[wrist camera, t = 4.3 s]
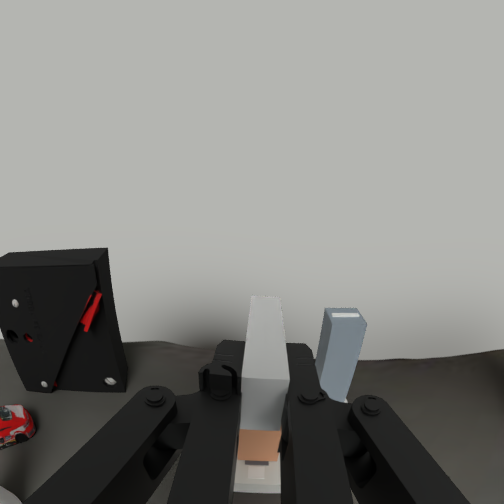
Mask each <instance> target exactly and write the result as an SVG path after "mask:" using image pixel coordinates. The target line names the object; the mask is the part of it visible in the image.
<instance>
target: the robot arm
mask: <svg viewBox="0 0 504 504" xmlns="http://www.w3.org/2000/svg"><path fill="white" fill-rule="evenodd" d="M313 358H314V357H313V354H312V350H311V349H310V348H309V347H308V346H307V345H306V344H303V343H302V344H301V343H300V344H299V343H286V341H285V333H284V324H283V316H282V308H281V299H280V297H268V296H251V303H250V313H249V320H248V328H247V337H246V342H244V341H232V340H223V341H222V342H221V343H220V344H219V345H217V348H216V351H215V355H214V358H213V362H212V363H210V364H207V365H205V366H204V367H202V368H201V369H200V371H199V372H198V373H199V387H200V391H198V392H196V393H194V394H189V395H180V396H175V395H174V393H173V392H172V391H171V390H169V389H168V388H166V387H162V386H149V387H145V388H143V389H142V390H140V391H139V392H138V393H137V394H136V395H135V396H134V397H133V398H132V399H131V400H130V401H129V402H128V403H127V404H126V405H125V406H124V407H123V408H122V409H121V410H120V411H119V412H118V413H117V414H116V415H114V416H113V417H112V418H111V419H110V420H109V421H108V422H107V423H106V424H105V425H104V426H103V427H102V428H101V429H100V430H99V431H98V432H97V433H96V434H95V435H94V436H93V437H92V438H91V439H90V440H89V441H88V442H87V443H86V444H85V445H84V446H83V447H82V448H81V449H80V450H79V451H78V452H77V453H76V454H74V455H73V456H72V457H71V458H70V459H69V460H68V461H67V462H66V463H65V464H64V465H63V466H62V467H61V468H60V469H59V470H58V471H57V472H56V473H54V474H53V475H52V476H51V477H50V478H49V479H48V480H47V481H46V482H45V483H44V484H43V485H42V486H41V487H39V488H38V489H37V490H36V491H35V492H34V493H33V494H32V495H31V496H30V497H29V498H28V499H26V500H25V501H24V502H23V503H22V504H146V502H147V501H148V500H149V498H150V497H151V495H152V494H153V493H154V491H155V490H156V488H157V487H158V486H159V484H160V483H161V481H162V480H163V478H164V477H165V476H166V474H167V473H168V471H169V470H170V468H171V467H172V465H173V464H174V462H175V461H176V459H177V458H178V456H179V455H180V453H181V452H182V453H181V456H180V460H179V463H178V467H177V470H176V474H175V477H174V481H173V484H172V488H171V491H170V495H169V498H168V502H167V504H232V500H233V491H234V482H235V472H236V463H237V454H238V445H239V431H240V429H247V430H266V431H280V428H281V438H280V442H279V447H278V451H277V453H280V481H281V504H353V499H352V494H351V490H352V492H353V493H354V495H355V497H356V499H357V501H358V503H359V504H470V503H469V501H468V500H467V499H466V498H465V497H464V495H463V494H462V493H461V492H460V490H459V489H458V488H457V487H456V486H455V484H454V483H453V482H452V481H451V479H450V478H449V477H448V476H447V475H446V473H445V472H444V471H443V470H442V469H441V467H440V466H439V465H438V464H437V462H436V461H435V460H434V459H433V458H432V456H431V455H430V454H429V453H428V452H427V450H426V449H425V448H424V447H423V446H422V444H421V443H420V442H419V441H418V440H417V438H416V437H415V436H414V435H413V433H412V432H411V431H410V430H409V429H408V427H407V426H406V425H405V424H404V423H403V421H402V420H401V419H400V418H399V417H398V415H397V414H396V413H395V412H394V411H393V410H392V408H391V407H390V406H389V405H388V404H387V402H385V401H384V400H383V399H382V398H379V397H377V396H372V395H364V396H360V397H358V398H356V399H355V401H354V402H353V403H352V404H351V403H345V402H339V401H336V400H333V399H331V398H329V396H328V394H327V392H326V391H324V390H323V389H322V388H321V386H320V382H319V378H318V374H317V369H316V365H315V361H314V359H313ZM350 488H351V489H350Z"/></svg>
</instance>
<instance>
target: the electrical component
mask: <svg viewBox="0 0 504 504" xmlns="http://www.w3.org/2000/svg"><path fill="white" fill-rule="evenodd" d="M0 329H1V332H2V334H3V337H4V340H5V343H6V345H7V348H8V351H9V353H10V356H11V358H12V360H13V363H14V365H15V367H16V370H17V372H18V374H19V376H20V378H21V380H22V382H23V384H24V386H25V388H26V390H27V391H35V392H43V393H51V391H52V389H59V390H71V391H86V392H126V381H127V371H128V367H127V363H126V358H125V354H124V350H123V346H122V341H121V336H120V331H119V327H118V321H117V316H116V310H115V304H114V298H113V291H112V283H111V275H110V266H109V256H108V248H89V249H69V250H48V251H30V252H13V253H7V254H6V255H4V256H2V257H0Z"/></svg>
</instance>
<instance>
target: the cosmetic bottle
mask: <svg viewBox="0 0 504 504" xmlns="http://www.w3.org/2000/svg"><path fill="white" fill-rule="evenodd" d="M0 504H22V503H21V501H20V500H19V499H18V498H17V497H16V496H15V495H14V494H13V493H11V492H9V491H8V490H6V489H5V488H3V487H2V486H0Z"/></svg>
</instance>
